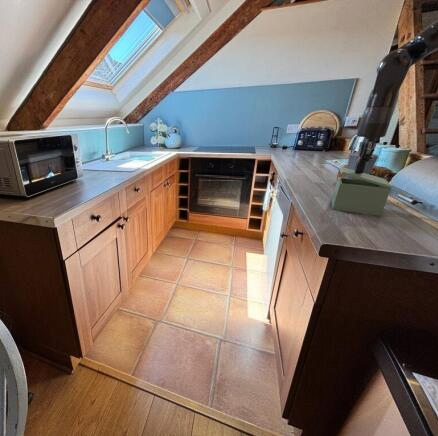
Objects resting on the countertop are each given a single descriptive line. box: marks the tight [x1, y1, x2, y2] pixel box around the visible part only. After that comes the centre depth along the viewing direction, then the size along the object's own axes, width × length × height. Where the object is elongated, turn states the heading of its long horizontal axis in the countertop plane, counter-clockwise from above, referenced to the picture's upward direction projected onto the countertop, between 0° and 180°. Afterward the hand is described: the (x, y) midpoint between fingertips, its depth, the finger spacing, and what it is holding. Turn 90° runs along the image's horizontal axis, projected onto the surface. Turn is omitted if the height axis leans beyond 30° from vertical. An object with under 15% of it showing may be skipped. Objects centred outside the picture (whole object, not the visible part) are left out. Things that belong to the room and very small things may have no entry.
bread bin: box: [331, 177, 392, 217], centre depth 90 cm, size 14×12×10 cm
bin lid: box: [338, 165, 393, 189], centre depth 87 cm, size 14×12×1 cm
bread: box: [335, 163, 394, 183], centre depth 119 cm, size 19×11×10 cm, turn 73°
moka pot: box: [345, 149, 379, 179], centre depth 103 cm, size 10×15×20 cm, turn 170°
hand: (358, 173), depth 88 cm, fingers closed
